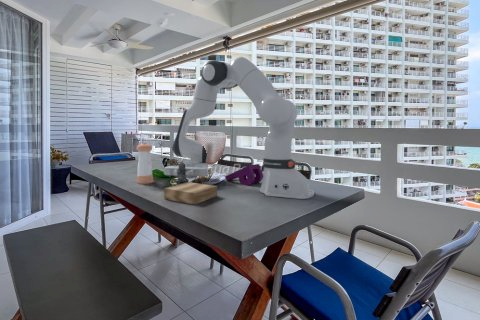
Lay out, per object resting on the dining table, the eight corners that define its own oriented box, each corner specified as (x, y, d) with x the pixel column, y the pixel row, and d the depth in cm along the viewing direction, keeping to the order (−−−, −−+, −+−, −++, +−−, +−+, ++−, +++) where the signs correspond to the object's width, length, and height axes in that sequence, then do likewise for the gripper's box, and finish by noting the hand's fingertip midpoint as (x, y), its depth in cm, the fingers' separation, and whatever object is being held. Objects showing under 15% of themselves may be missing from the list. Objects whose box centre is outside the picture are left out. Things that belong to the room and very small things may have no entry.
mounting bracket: (226, 194, 135) (254, 182, 125) (221, 178, 137) (248, 165, 126) (238, 190, 143) (265, 179, 132) (233, 175, 144) (259, 163, 134)
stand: (216, 196, 106) (217, 186, 106) (194, 204, 94) (194, 193, 94) (188, 191, 113) (188, 182, 113) (164, 198, 101) (164, 188, 101)
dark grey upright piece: (188, 189, 117) (188, 161, 116) (174, 189, 117) (174, 161, 115) (189, 186, 123) (189, 160, 122) (176, 186, 123) (176, 160, 121)
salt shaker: (140, 184, 126) (139, 143, 124) (134, 182, 131) (133, 142, 129) (155, 182, 131) (154, 142, 129) (149, 180, 136) (148, 142, 134)
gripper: (169, 162, 133) (158, 165, 119) (210, 163, 131) (204, 167, 117) (169, 174, 133) (158, 180, 120) (210, 176, 131) (204, 181, 118)
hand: (181, 173), depth 118 cm, fingers closed on dark grey upright piece, 4 cm apart
